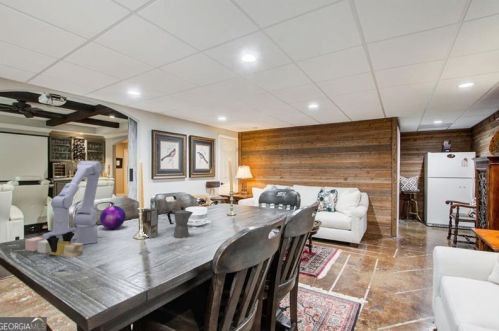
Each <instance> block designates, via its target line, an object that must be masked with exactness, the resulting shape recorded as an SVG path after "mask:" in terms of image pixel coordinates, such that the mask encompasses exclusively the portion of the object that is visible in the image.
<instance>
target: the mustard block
mask: <svg viewBox="0 0 499 331" xmlns="http://www.w3.org/2000/svg"><path fill="white" fill-rule="evenodd" d="M68 244H70V243H69V242H68V241H63V240H58V243H57V251H56V252H51V250H50V252H49V253H50V255H53V256H62V255H64V246H65V245H68Z"/></svg>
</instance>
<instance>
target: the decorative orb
mask: <svg viewBox="0 0 499 331" xmlns="http://www.w3.org/2000/svg"><path fill="white" fill-rule="evenodd" d="M126 218H127V217H126V212H125V210H124V209H123V208H122V207H120V206H117V205H110V206H108V207H105V209H103V210H102V211H101V213H100V215H99V221H100V225H102V227H104V228H105V229H108V230H113V229H114V230H115V229H118V228H120V227H121V226H122V225H123V224H124V223H125V220H126Z"/></svg>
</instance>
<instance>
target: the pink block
mask: <svg viewBox="0 0 499 331" xmlns="http://www.w3.org/2000/svg"><path fill="white" fill-rule="evenodd" d="M43 240H45V239H43V237H40V236H36V237H32V238H28V239H25V242H24V243H25V246H24V247H25V248H24V251H29V252H35V251H38V242H39V241H43Z"/></svg>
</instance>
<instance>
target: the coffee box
mask: <svg viewBox="0 0 499 331" xmlns="http://www.w3.org/2000/svg"><path fill="white" fill-rule="evenodd" d="M138 221H139V222H138V224H139V225H138V227H139V228H138V231H139V230H140V219H138ZM142 221H143V232H144V234H146V235H147V236H148V237H149V238H148V239H153V238H156V237H158V235H159V234H158V231H159V230H158V229H159V209H156V208H155V209H154V208H144V211H143V212H142Z"/></svg>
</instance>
